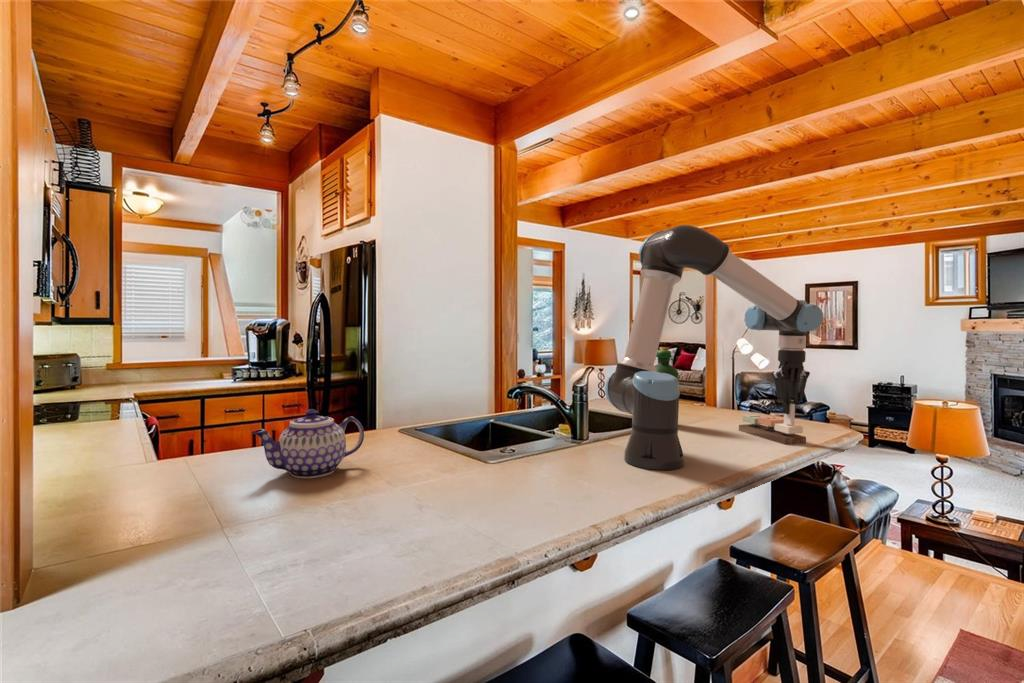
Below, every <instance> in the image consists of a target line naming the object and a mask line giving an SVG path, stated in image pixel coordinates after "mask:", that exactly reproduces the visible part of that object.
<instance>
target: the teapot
mask: <svg viewBox="0 0 1024 683" xmlns="http://www.w3.org/2000/svg"><path fill="white" fill-rule="evenodd" d="M317 414H318V410H316V409H314V408H309V409H307V410H306V411H305V415H306V416H303V417H298V418H297V417H296V418H294V419H291V420H289V425H288V427H286V429H284V430H283V431H282V433H281V434H280V435H279V439H278V440H277V441H275V440H274V439H273V437H272V436H271V435H270V433H269V432H268V431H267V430H266V429H264V428H261V429H257V430H254V431H253V435H256V436H258V437H260V439H261V442H262V444H263V445H262V446H263V449H264V454H265V459H266V460H267V463H268V465H270V467H272V468H275V469H277V470H283V471H287V472H288V473H289V474H290V475H291V476H292V477H294V478H298V479H315V478H321V477H325V476H328V475H331V474H332V473H334V472H335V470H336V469H337V467H338V466H339V465H340V463H341V462H342V461H343V459H344V458H346V457H348V456H351V455H352V454H354V453H356V452H357V451H358V450H359V449H360V448H361V446H362V444H363V443H364V439H365V431H364V427H363V425H362V423H361V422H360V421H359V420H358V418H355V417H354V416H348V417H346V418H345V419H344V420H343V421H342V422H341V423H339V424H337V423H336V422H335V419H334V418H332V417H329V416H323V415H317ZM350 422H353V423H355V425H356V426H357V429H358V431H359V438H358V441H356V442H357V443H355V445H354V446H353V447H352V448H350V449H346V448H347V440H346V434H345V430H346V428H347V425H348V424H349V423H350Z"/></svg>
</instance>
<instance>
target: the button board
mask: <svg viewBox="0 0 1024 683" xmlns="http://www.w3.org/2000/svg"><path fill="white" fill-rule="evenodd" d="M774 429H775V427H774ZM739 430H740V432H742V431H743V432H742V433H745V432H746V434H749V435H752V434H753V436H755V435H756V437H758V436H759V437H760V438H763V439H765V440H769V441H772V442H775V443H779V444H781V445H799V444H801V445H802V444H806V443H807V436H804V435H801V434H798V433H795V434H792V435H791V437H788V436H785V433H783V432H780V431H776V430H774V432H770V431H768V426H767V425H763V424H758V427H752V424H751V423H747V424H745V423H744V424H738V431H739Z"/></svg>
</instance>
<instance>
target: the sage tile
mask: <svg viewBox="0 0 1024 683" xmlns="http://www.w3.org/2000/svg"><path fill="white" fill-rule="evenodd" d="M758 417H763V416H761V415H758V414H747V415H745V414H744V415H742V422H743V423H747V424H752V427H758V424H759V423H758Z"/></svg>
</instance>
